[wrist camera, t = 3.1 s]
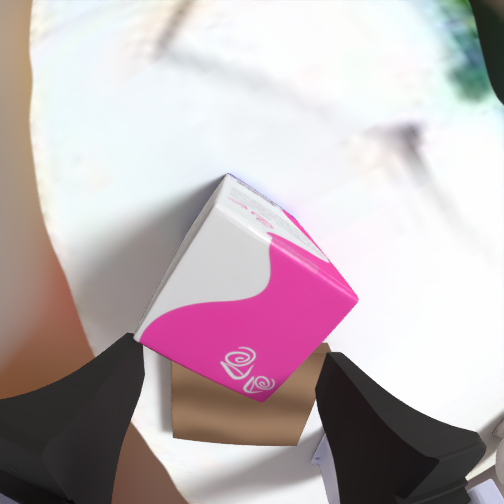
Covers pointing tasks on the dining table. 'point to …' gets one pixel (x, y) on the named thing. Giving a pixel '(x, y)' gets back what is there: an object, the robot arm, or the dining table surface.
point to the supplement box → (245, 295)
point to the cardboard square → (244, 407)
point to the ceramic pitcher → (500, 451)
